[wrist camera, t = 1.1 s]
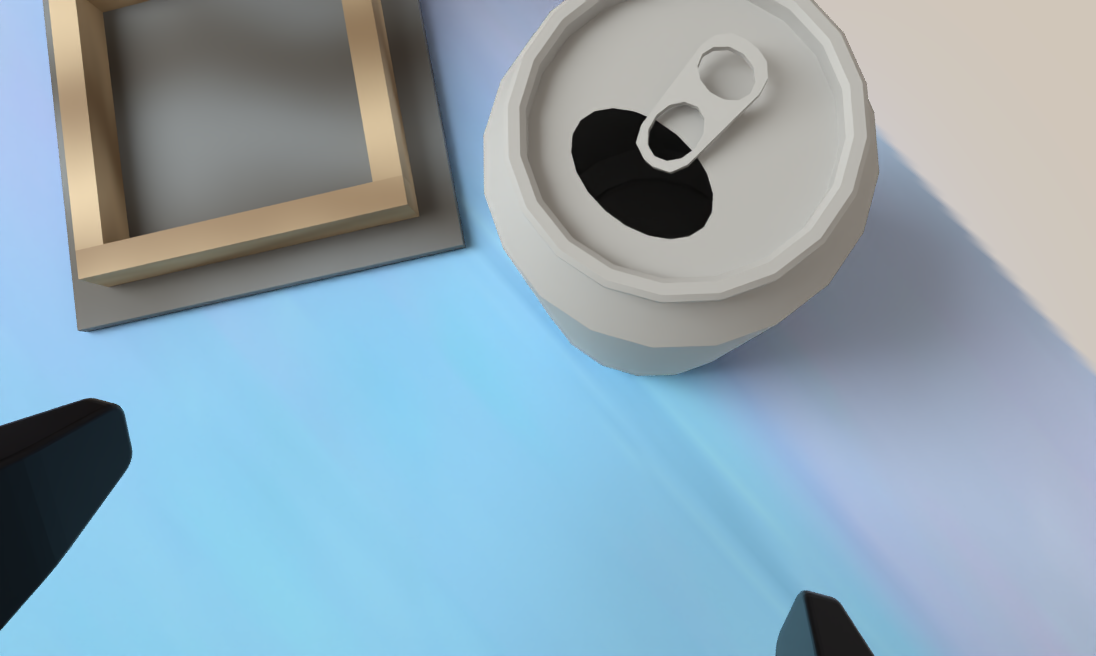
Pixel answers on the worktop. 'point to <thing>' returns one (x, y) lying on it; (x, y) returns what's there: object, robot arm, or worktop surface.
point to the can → (679, 171)
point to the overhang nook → (242, 147)
